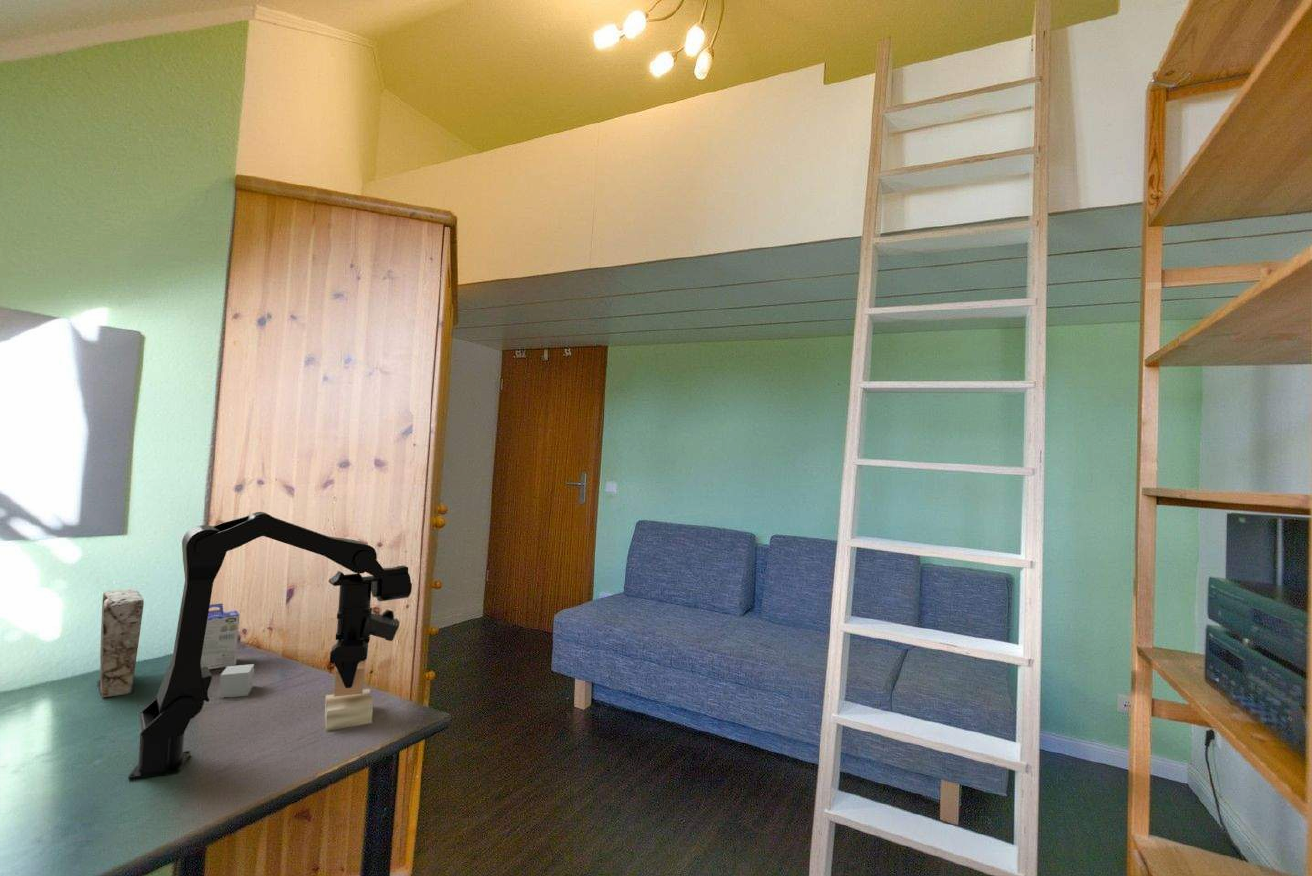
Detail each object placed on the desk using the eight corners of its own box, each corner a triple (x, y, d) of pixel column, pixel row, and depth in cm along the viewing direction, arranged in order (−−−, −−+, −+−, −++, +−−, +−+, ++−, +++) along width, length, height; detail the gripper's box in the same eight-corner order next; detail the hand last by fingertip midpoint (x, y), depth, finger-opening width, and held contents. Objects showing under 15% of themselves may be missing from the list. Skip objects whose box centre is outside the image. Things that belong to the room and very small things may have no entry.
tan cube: (362, 693, 115) (364, 668, 116) (334, 696, 113) (335, 671, 114) (364, 684, 120) (365, 659, 120) (336, 686, 118) (338, 662, 118)
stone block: (143, 691, 124) (149, 597, 124) (98, 701, 118) (105, 603, 119) (129, 674, 132) (135, 586, 133) (86, 683, 127) (93, 591, 127)
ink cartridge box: (234, 658, 144) (238, 600, 144) (237, 665, 140) (241, 605, 140) (183, 667, 137) (187, 606, 138) (185, 675, 133) (189, 611, 134)
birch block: (371, 724, 115) (373, 703, 115) (325, 732, 111) (326, 711, 111) (368, 707, 122) (369, 688, 122) (324, 715, 118) (325, 695, 118)
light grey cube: (247, 695, 124) (248, 672, 125) (219, 698, 122) (220, 675, 123) (252, 686, 129) (254, 664, 129) (225, 689, 127) (227, 666, 127)
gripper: (397, 614, 112) (392, 696, 111) (398, 591, 129) (394, 662, 129) (332, 618, 107) (326, 703, 107) (341, 594, 124) (337, 667, 124)
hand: (349, 682), depth 117 cm, fingers closed on tan cube, 5 cm apart
